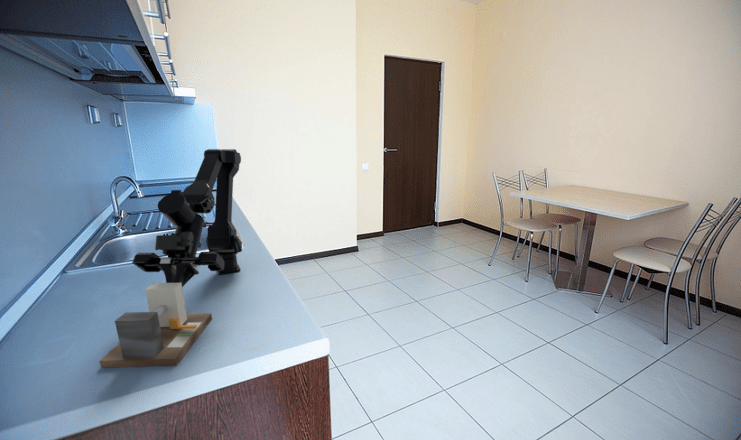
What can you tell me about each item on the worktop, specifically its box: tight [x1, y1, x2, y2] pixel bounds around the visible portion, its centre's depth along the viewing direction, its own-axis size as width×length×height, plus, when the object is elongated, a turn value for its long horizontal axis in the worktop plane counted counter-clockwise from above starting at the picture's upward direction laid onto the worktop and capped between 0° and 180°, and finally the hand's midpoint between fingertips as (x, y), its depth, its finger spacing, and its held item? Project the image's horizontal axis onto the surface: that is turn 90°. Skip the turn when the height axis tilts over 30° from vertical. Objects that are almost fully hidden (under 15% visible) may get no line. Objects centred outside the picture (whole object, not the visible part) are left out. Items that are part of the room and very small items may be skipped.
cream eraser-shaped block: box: [144, 282, 187, 327], centre depth 72 cm, size 7×6×9 cm
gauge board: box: [99, 311, 213, 369], centre depth 71 cm, size 16×14×10 cm
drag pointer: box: [169, 318, 197, 329], centre depth 73 cm, size 1×5×2 cm, turn 92°
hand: (170, 297), depth 76 cm, fingers closed, pressing on cream eraser-shaped block
